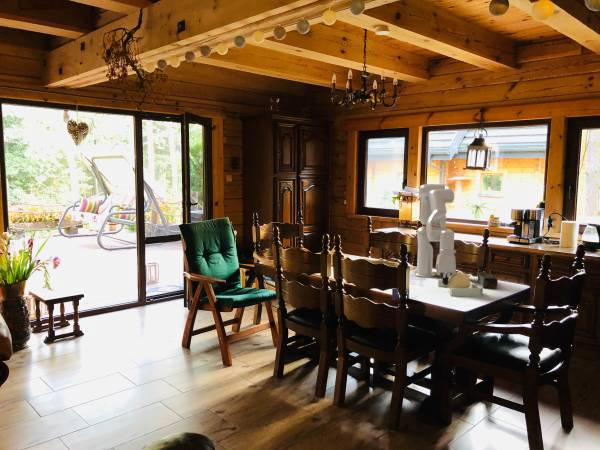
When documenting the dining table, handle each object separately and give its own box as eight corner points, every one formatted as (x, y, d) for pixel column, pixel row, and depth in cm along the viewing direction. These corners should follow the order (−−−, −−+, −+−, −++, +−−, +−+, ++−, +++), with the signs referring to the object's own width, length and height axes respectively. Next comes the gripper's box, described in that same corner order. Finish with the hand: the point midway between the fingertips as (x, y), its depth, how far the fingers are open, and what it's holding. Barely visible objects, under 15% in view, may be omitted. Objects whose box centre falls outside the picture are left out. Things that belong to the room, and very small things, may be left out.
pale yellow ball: (469, 289, 277) (470, 270, 276) (469, 294, 266) (470, 275, 265) (448, 287, 281) (449, 269, 280) (447, 292, 270) (448, 273, 268)
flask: (408, 298, 257) (408, 278, 256) (410, 299, 254) (410, 279, 253) (391, 298, 256) (391, 278, 255) (392, 300, 254) (393, 280, 252)
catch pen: (437, 286, 285) (438, 279, 284) (466, 286, 285) (466, 279, 285) (451, 296, 262) (451, 288, 262) (482, 295, 263) (482, 288, 263)
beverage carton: (490, 282, 297) (491, 271, 296) (497, 289, 278) (498, 278, 277) (477, 281, 298) (477, 271, 297) (483, 289, 279) (483, 277, 279)
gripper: (457, 251, 275) (456, 283, 277) (431, 251, 274) (430, 283, 276) (462, 253, 267) (460, 286, 269) (435, 253, 267) (434, 286, 269)
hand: (445, 284), depth 273 cm, fingers closed
